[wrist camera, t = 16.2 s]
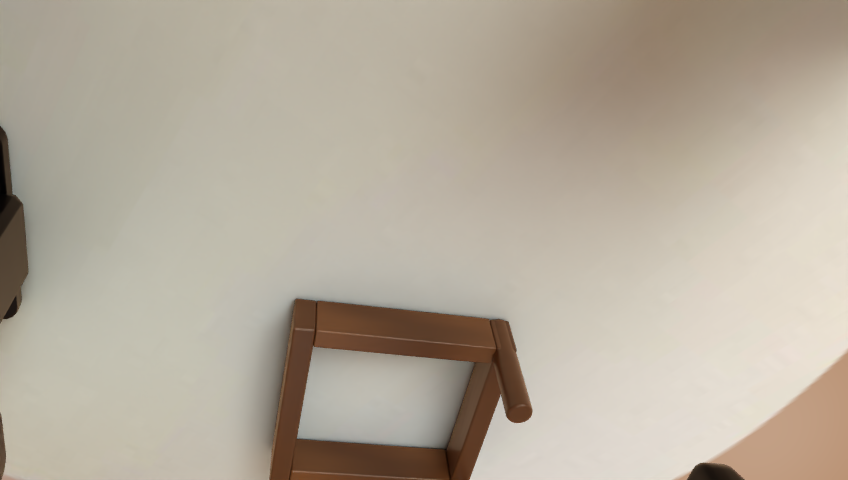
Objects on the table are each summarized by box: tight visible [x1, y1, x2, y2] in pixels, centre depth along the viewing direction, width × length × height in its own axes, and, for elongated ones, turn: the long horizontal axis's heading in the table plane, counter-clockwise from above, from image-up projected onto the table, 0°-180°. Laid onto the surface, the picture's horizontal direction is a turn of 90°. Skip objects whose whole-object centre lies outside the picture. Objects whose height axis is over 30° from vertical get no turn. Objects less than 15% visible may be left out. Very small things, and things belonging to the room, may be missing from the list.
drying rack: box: [269, 299, 532, 480], centre depth 26 cm, size 7×7×4 cm
